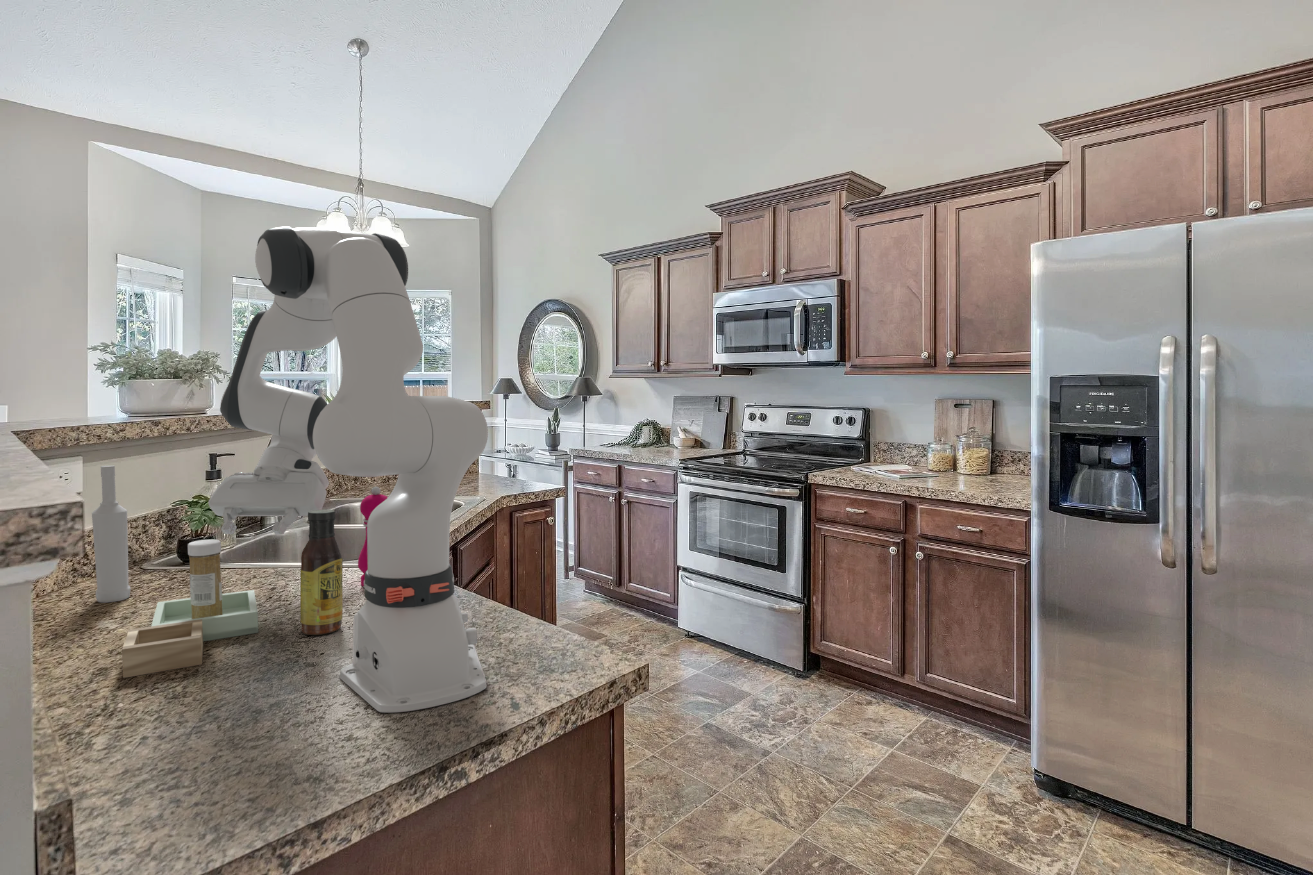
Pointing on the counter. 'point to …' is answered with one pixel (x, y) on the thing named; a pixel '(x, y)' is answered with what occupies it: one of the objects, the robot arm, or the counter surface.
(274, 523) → the robot arm
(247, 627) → the sage tray
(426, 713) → the counter surface
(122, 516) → the bottle
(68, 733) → the counter surface
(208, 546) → the sprinkles bottle
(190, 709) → the counter surface
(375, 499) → the pepper mill
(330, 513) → the sauce bottle
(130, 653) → the maple holder
